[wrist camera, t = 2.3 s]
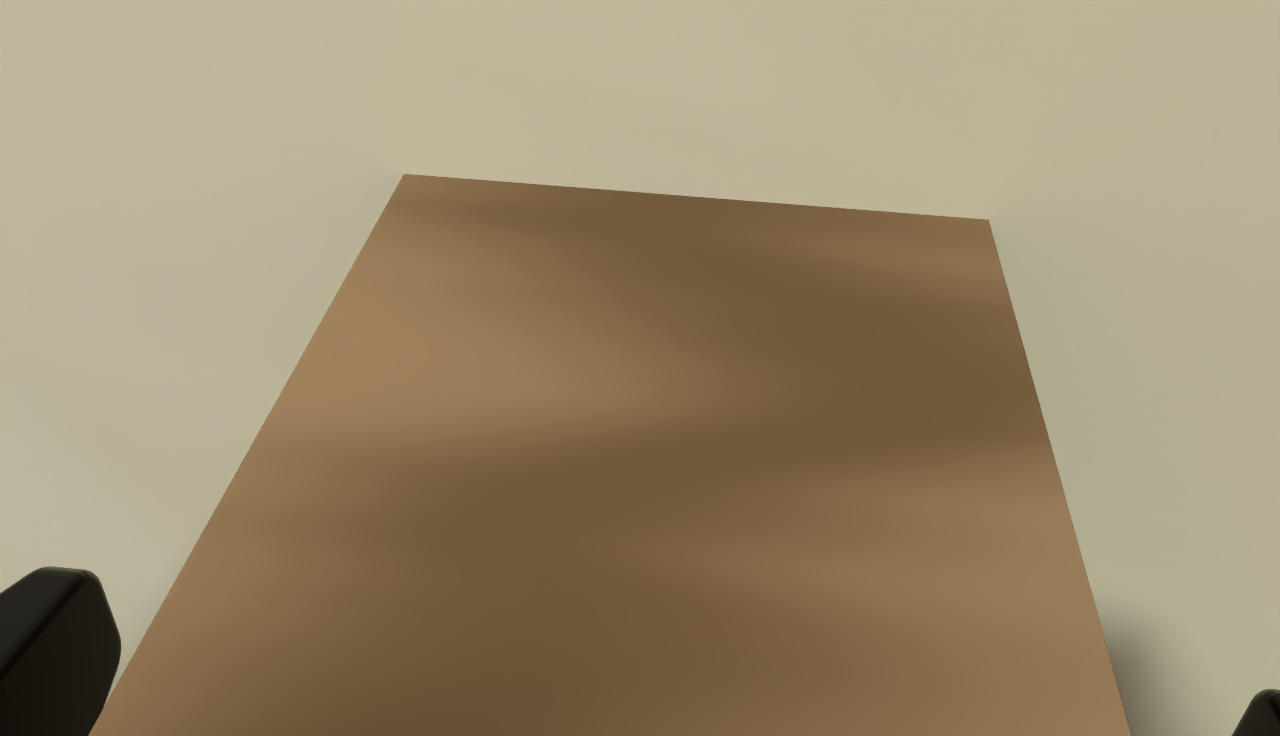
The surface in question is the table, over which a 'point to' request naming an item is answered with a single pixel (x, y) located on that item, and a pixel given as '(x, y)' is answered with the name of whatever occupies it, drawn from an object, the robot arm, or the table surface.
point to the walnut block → (641, 491)
